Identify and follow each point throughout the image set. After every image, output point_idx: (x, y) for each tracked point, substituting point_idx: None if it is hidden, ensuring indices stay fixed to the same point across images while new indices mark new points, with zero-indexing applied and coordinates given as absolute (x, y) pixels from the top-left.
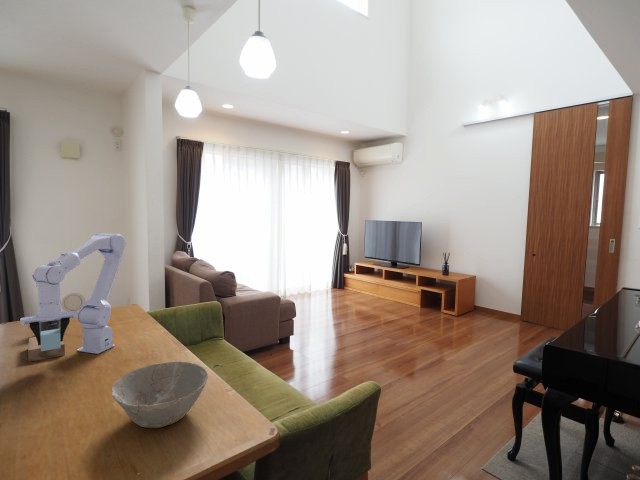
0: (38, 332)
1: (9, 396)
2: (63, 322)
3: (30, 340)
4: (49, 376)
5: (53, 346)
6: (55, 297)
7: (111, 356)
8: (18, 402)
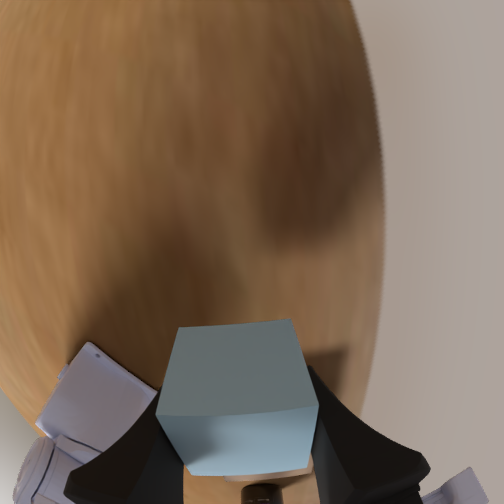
0: (340, 438)
1: (360, 71)
2: (101, 498)
3: (310, 462)
4: (236, 190)
5: (217, 336)
6: None
7: (42, 292)
8: (321, 7)
